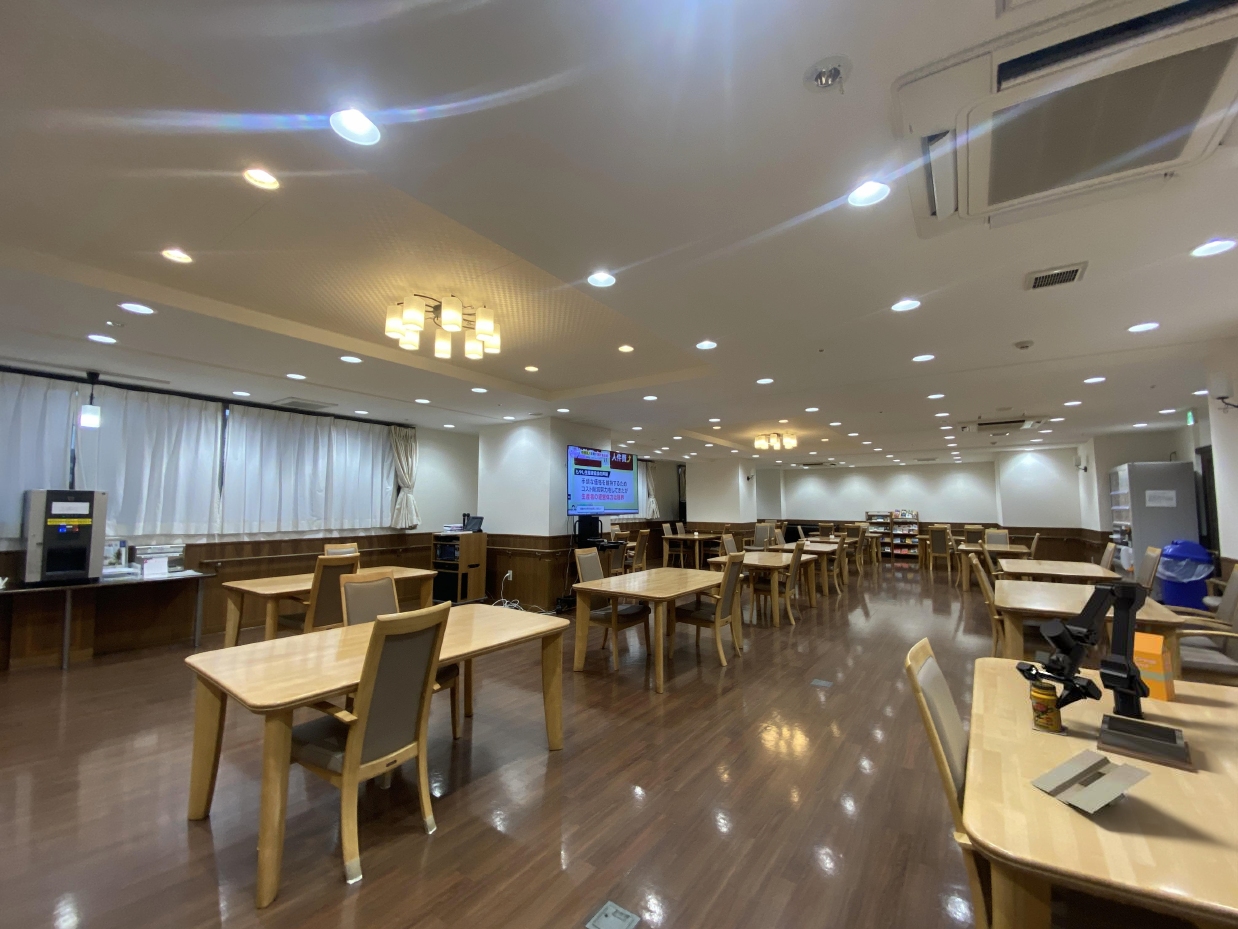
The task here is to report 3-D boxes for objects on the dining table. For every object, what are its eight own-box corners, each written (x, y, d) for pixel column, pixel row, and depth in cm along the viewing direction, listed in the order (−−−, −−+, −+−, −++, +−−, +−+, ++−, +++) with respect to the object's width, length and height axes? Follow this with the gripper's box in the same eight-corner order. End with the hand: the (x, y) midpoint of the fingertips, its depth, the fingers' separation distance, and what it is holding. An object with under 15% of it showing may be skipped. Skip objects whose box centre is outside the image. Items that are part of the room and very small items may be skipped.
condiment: (1031, 729, 137) (1027, 684, 138) (1032, 719, 143) (1028, 677, 145) (1066, 736, 132) (1062, 690, 133) (1065, 726, 138) (1061, 682, 140)
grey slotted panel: (1133, 855, 92) (1182, 796, 93) (1091, 814, 94) (1140, 757, 95) (1062, 817, 107) (1105, 768, 109) (1028, 782, 109) (1071, 734, 111)
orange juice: (1167, 701, 157) (1159, 637, 159) (1129, 693, 165) (1122, 631, 167) (1176, 697, 160) (1168, 634, 163) (1138, 689, 168) (1131, 629, 170)
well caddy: (1101, 726, 138) (1100, 710, 139) (1188, 745, 127) (1186, 727, 127) (1097, 749, 125) (1095, 731, 125) (1193, 772, 113) (1190, 753, 114)
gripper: (1016, 633, 150) (993, 674, 146) (1089, 649, 132) (1065, 696, 128) (1038, 658, 151) (1015, 699, 147) (1113, 676, 134) (1089, 724, 129)
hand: (1043, 703), depth 138 cm, fingers closed on condiment, 6 cm apart
